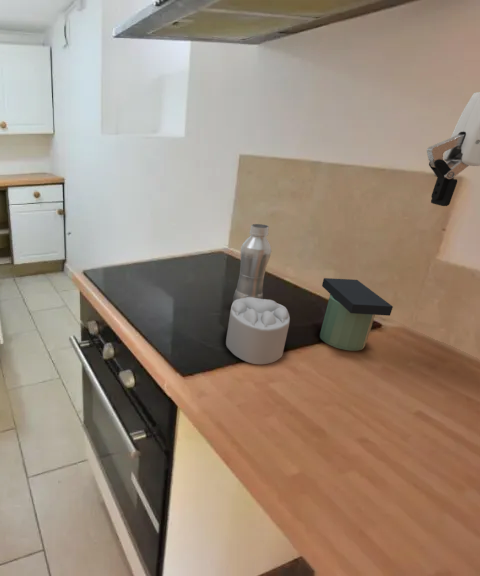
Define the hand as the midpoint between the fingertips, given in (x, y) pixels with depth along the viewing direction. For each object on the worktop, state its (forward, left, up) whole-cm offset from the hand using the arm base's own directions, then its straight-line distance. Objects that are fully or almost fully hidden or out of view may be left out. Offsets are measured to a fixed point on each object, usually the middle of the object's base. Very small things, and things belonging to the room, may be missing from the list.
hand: (474, 205), depth 58 cm
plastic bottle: (+26, -18, -28) cm, 43 cm away
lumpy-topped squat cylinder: (+28, -1, -28) cm, 40 cm away
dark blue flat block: (+10, -6, -19) cm, 23 cm away
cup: (+10, -6, -28) cm, 31 cm away
